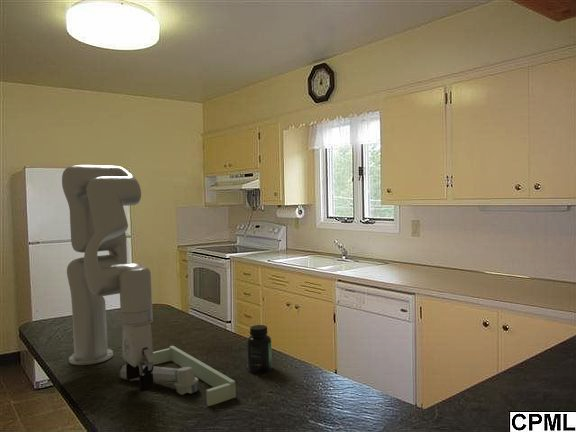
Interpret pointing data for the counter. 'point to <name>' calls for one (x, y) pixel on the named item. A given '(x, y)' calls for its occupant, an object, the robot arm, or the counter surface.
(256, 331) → the supplement bottle
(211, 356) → the counter surface
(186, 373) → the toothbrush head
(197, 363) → the bracket
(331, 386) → the counter surface
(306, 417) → the counter surface
